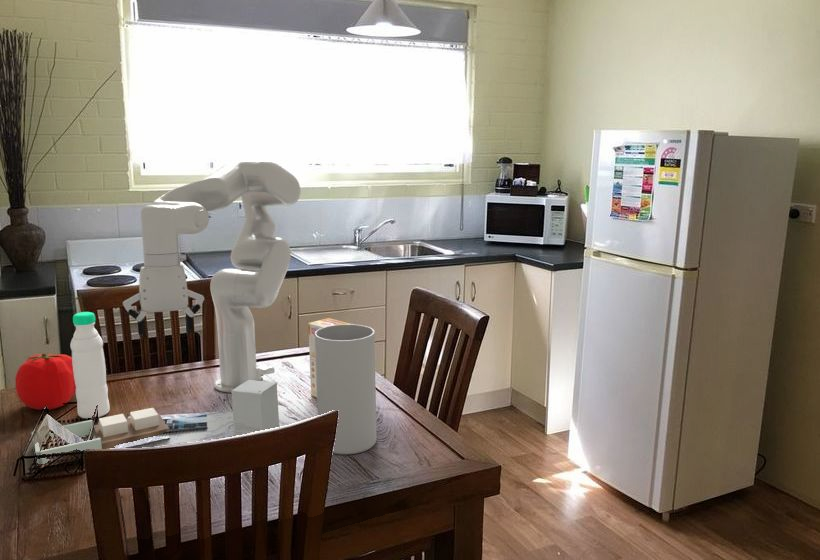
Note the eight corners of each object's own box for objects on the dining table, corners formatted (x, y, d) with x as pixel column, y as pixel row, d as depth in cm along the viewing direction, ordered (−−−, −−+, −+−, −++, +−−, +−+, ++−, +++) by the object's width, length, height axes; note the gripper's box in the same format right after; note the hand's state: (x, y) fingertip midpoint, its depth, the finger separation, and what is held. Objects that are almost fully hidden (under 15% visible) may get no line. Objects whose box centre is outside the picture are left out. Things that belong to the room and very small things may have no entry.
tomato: (37, 421, 164) (30, 366, 162) (5, 409, 172) (-2, 356, 169) (97, 400, 177) (91, 348, 175) (65, 390, 185) (59, 340, 182)
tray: (93, 434, 157) (92, 419, 156) (102, 454, 147) (100, 438, 146) (33, 447, 151) (31, 431, 150) (38, 469, 141) (36, 452, 140)
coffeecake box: (370, 402, 174) (368, 327, 170) (349, 411, 169) (347, 333, 165) (331, 388, 184) (328, 316, 180) (309, 395, 179) (307, 322, 175)
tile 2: (154, 417, 160) (153, 407, 159) (159, 425, 156) (158, 414, 155) (131, 422, 157) (129, 412, 157) (135, 430, 153) (134, 419, 153)
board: (158, 421, 164) (157, 412, 163) (170, 438, 155) (169, 428, 154) (93, 435, 156) (92, 425, 156) (102, 454, 147) (101, 443, 147)
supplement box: (281, 435, 156) (278, 382, 153) (263, 449, 149) (260, 393, 146) (252, 431, 158) (249, 378, 155) (233, 445, 151) (230, 389, 148)
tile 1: (123, 424, 157) (122, 413, 156) (128, 431, 152) (127, 421, 152) (99, 429, 154) (98, 418, 153) (103, 437, 150) (102, 426, 149)
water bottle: (98, 420, 165) (87, 318, 159) (71, 418, 166) (59, 316, 161) (116, 409, 171) (106, 310, 166) (90, 407, 173) (80, 309, 168)
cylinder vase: (341, 426, 160) (338, 321, 155) (387, 438, 154) (385, 329, 149) (307, 447, 149) (302, 335, 144) (355, 461, 143) (352, 344, 138)
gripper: (200, 256, 162) (203, 328, 165) (119, 260, 155) (124, 335, 158) (204, 260, 155) (208, 335, 158) (120, 265, 148) (125, 343, 151)
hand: (166, 335), depth 158 cm, fingers open, 9 cm apart
